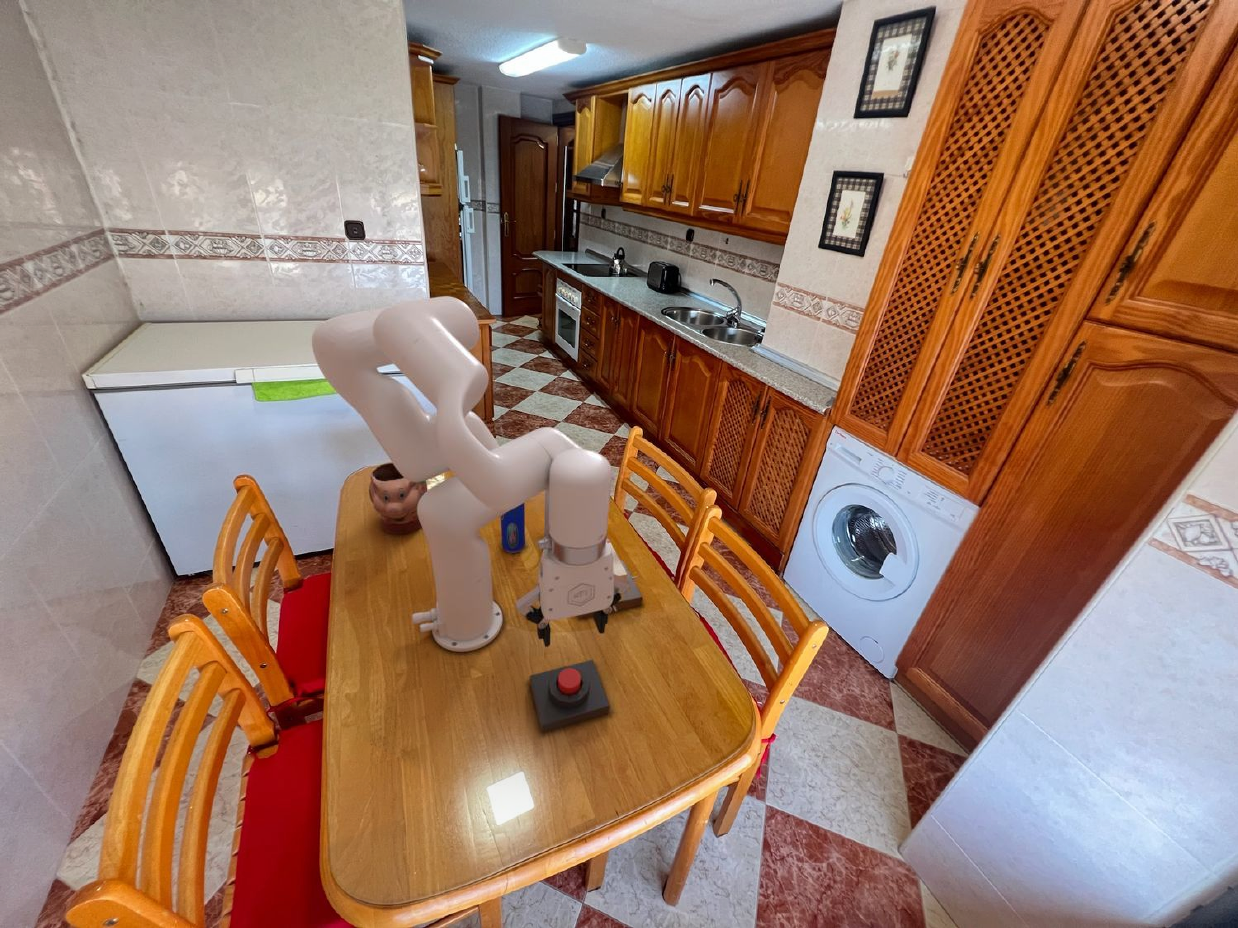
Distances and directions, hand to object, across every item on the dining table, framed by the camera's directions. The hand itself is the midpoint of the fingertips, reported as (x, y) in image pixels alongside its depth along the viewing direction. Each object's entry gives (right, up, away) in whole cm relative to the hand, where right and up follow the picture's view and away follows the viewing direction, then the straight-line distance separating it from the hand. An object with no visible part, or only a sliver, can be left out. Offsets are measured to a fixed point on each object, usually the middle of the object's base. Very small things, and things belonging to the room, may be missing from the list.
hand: (572, 632), depth 74 cm
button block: (-1, -14, +8) cm, 16 cm away
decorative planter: (-45, +12, +44) cm, 64 cm away
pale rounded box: (+4, 0, +28) cm, 28 cm away
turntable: (+3, -2, +29) cm, 29 cm away
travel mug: (-7, +6, +41) cm, 42 cm away
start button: (-1, -11, +6) cm, 12 cm away
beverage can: (-17, +6, +39) cm, 43 cm away
